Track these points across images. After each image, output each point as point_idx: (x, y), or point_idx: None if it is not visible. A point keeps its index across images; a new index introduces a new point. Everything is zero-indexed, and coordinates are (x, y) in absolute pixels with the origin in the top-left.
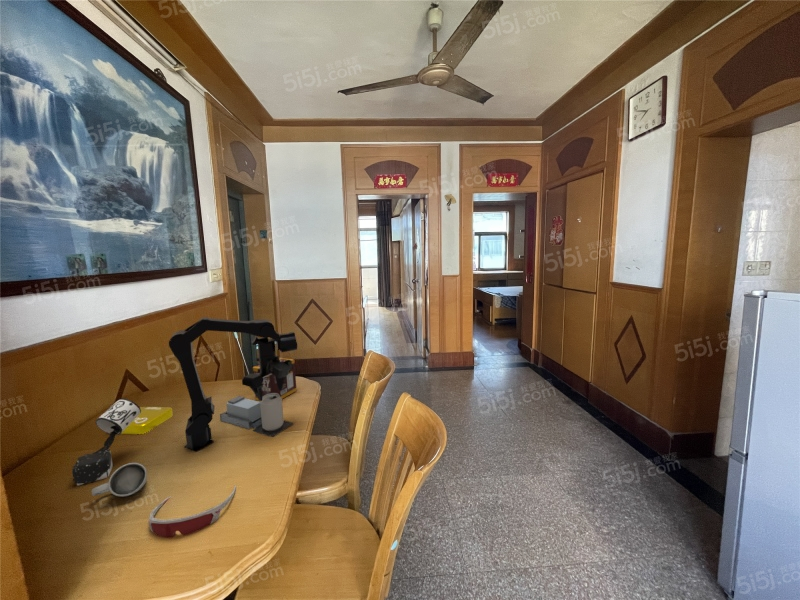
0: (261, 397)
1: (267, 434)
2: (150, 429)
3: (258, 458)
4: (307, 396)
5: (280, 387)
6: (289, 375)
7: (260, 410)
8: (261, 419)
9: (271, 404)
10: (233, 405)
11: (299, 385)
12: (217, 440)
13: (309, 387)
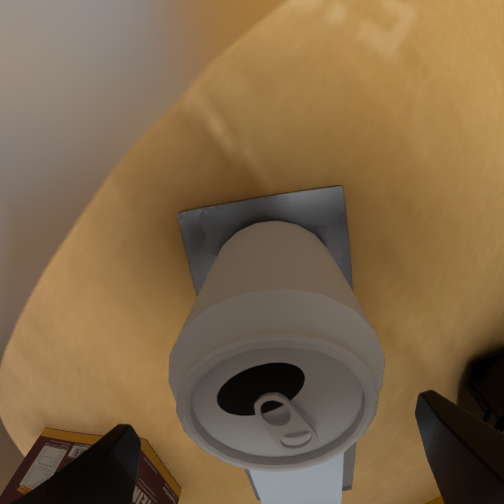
0: (452, 410)
1: (346, 228)
2: (441, 500)
3: (468, 101)
4: (24, 367)
5: (118, 454)
6: (34, 484)
7: None
8: None
9: (343, 307)
10: (340, 499)
11: (31, 437)
12: (448, 372)
13: (7, 402)
